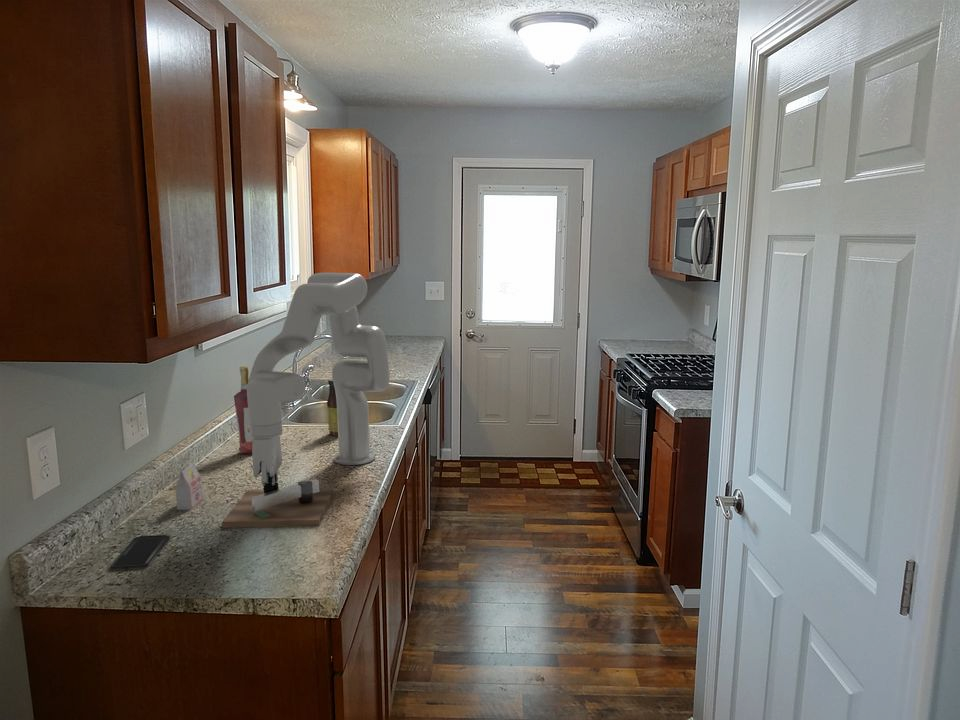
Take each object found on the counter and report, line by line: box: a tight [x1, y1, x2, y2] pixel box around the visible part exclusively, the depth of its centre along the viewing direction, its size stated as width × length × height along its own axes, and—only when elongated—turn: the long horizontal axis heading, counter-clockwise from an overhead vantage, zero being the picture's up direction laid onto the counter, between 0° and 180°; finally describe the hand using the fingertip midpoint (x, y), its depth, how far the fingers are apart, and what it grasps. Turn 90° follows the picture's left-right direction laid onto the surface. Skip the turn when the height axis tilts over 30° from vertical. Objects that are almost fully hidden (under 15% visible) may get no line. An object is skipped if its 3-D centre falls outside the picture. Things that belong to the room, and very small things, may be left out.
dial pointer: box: [252, 478, 320, 511], centre depth 170 cm, size 18×4×5 cm, turn 134°
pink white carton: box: [174, 463, 204, 511], centre depth 176 cm, size 4×7×10 cm, turn 177°
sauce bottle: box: [326, 378, 338, 437], centre depth 237 cm, size 7×6×20 cm
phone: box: [109, 534, 171, 571], centre depth 150 cm, size 8×1×15 cm
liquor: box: [233, 365, 253, 455], centre depth 217 cm, size 7×7×28 cm
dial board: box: [221, 487, 335, 529], centre depth 173 cm, size 21×23×2 cm
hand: (271, 498), depth 171 cm, fingers closed
